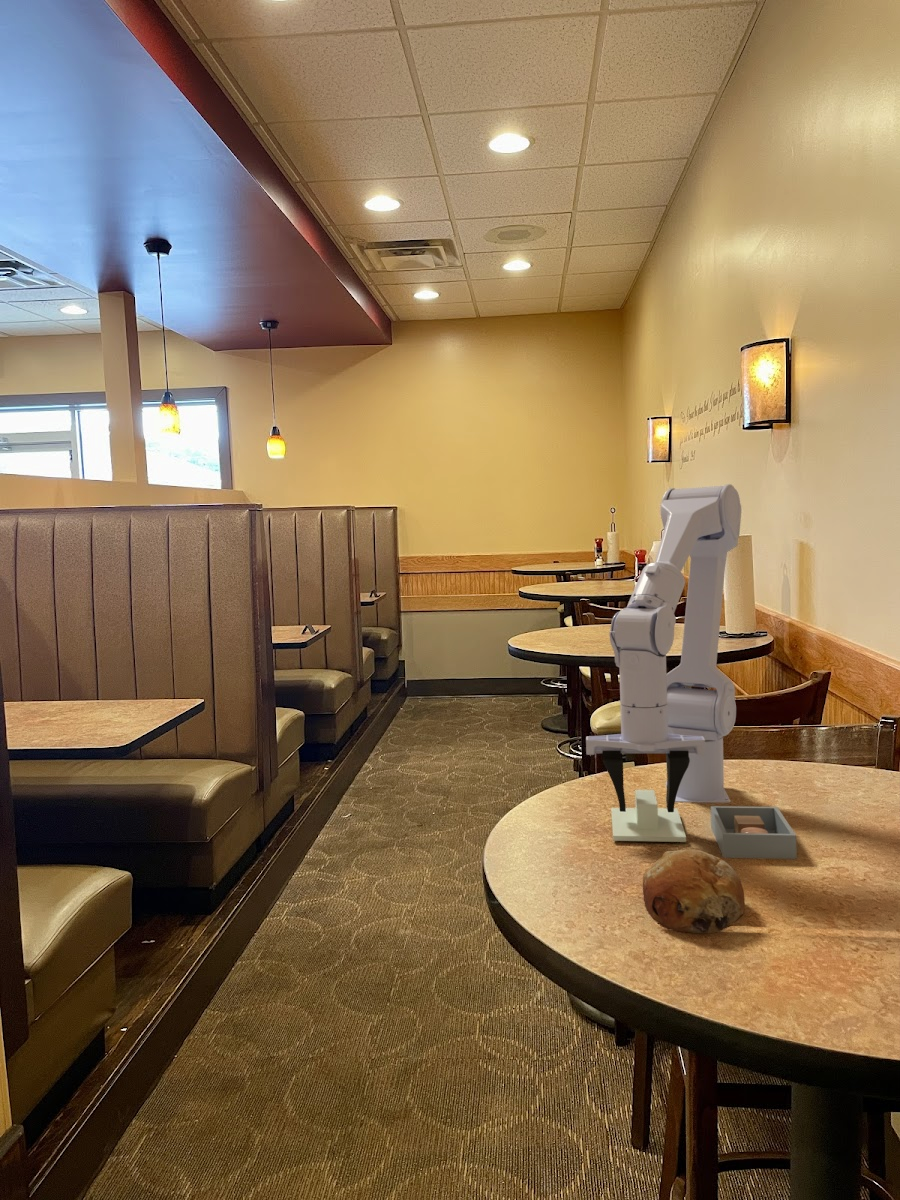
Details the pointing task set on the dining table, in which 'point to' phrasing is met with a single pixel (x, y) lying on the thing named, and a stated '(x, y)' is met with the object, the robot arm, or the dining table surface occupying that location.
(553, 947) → the dining table surface
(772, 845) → the box
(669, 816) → the lid
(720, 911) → the bread roll
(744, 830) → the light brown rounded piece
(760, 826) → the walnut block
